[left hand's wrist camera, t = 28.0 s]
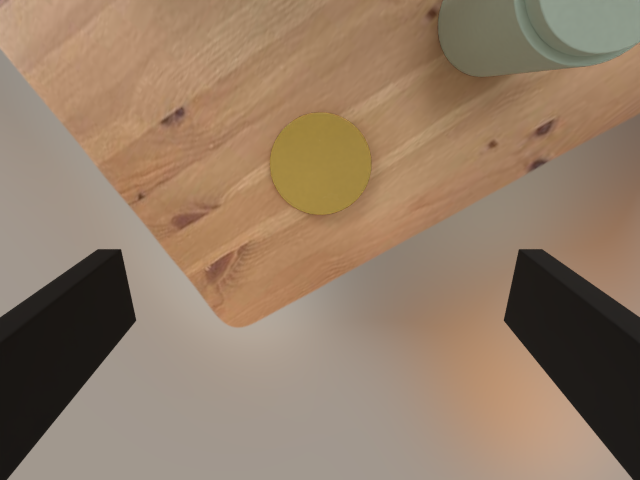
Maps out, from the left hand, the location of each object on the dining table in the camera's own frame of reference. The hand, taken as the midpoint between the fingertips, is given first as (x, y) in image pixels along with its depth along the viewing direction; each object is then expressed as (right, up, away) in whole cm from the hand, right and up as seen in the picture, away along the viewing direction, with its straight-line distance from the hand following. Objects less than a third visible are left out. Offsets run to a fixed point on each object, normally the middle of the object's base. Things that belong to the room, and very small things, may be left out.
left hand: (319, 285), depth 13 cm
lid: (0, +9, +23) cm, 24 cm away
